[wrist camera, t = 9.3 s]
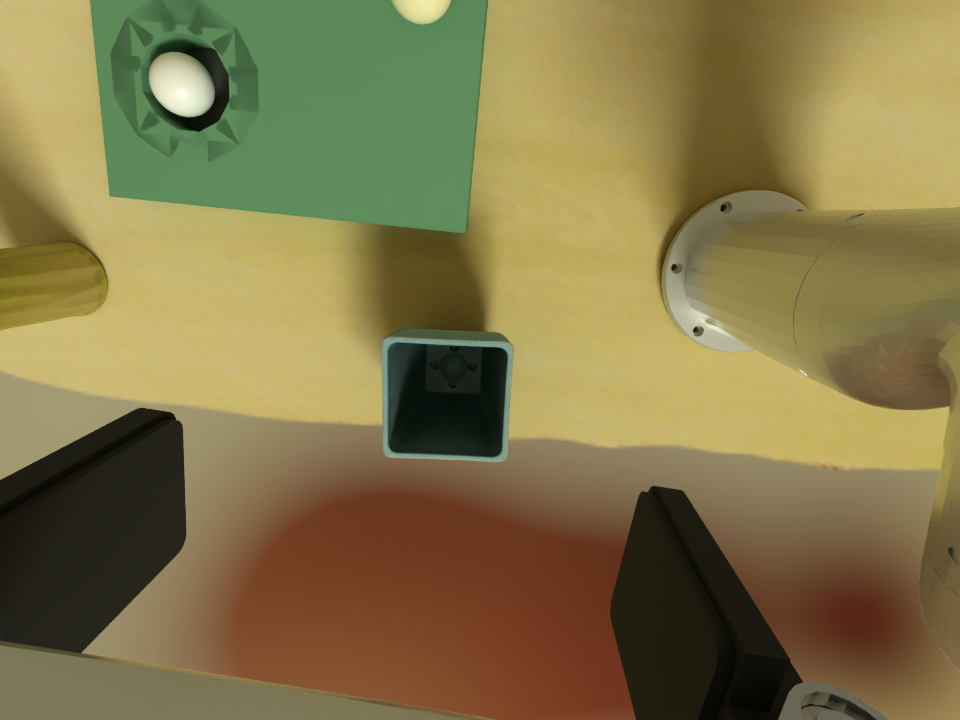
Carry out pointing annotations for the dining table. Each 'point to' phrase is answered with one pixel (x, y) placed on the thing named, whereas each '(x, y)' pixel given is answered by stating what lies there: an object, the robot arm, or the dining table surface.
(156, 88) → the white ball
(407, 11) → the yellow ball
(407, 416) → the flower pot
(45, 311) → the vase
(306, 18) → the putting mat
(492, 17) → the dining table surface
